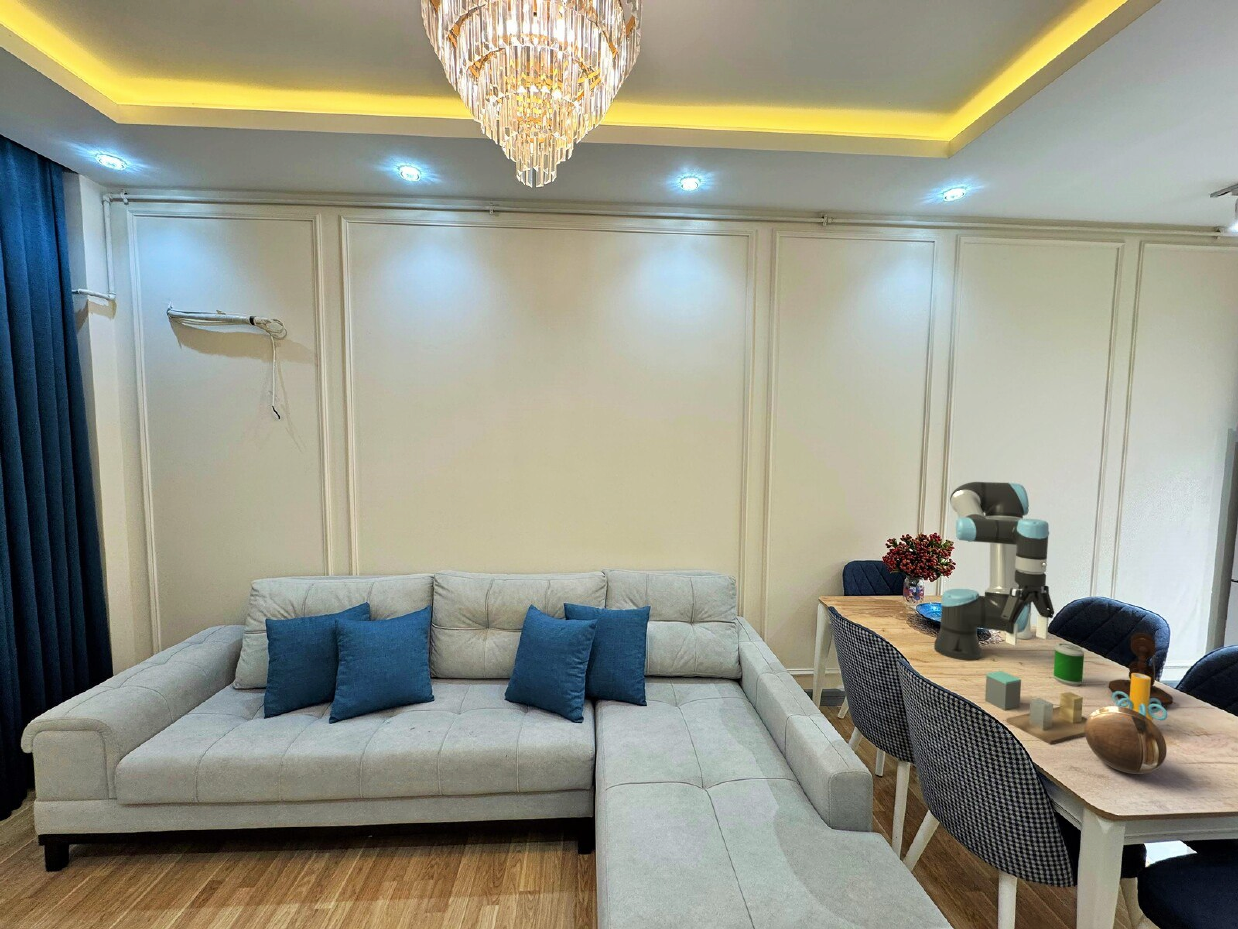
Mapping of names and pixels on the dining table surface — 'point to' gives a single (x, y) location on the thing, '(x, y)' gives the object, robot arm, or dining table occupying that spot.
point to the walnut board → (1057, 721)
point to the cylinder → (1140, 697)
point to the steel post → (1041, 714)
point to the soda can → (1068, 664)
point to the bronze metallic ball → (1125, 740)
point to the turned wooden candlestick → (1142, 670)
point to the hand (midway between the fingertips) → (1026, 640)
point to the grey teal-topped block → (1003, 690)
